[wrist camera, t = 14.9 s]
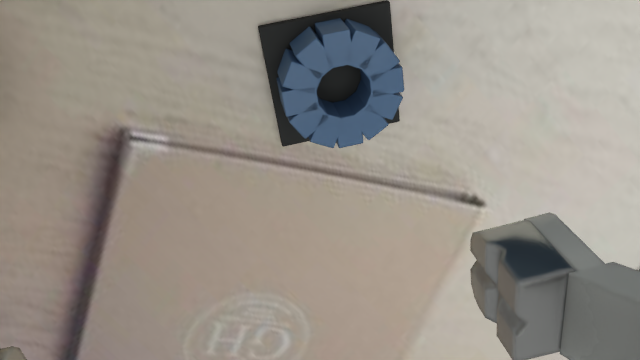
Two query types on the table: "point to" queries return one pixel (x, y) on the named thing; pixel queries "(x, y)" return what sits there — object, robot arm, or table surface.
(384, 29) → the mat
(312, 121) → the ring
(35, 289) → the table surface
